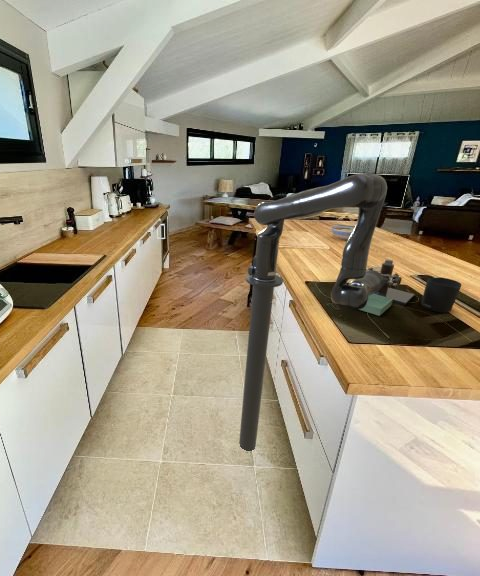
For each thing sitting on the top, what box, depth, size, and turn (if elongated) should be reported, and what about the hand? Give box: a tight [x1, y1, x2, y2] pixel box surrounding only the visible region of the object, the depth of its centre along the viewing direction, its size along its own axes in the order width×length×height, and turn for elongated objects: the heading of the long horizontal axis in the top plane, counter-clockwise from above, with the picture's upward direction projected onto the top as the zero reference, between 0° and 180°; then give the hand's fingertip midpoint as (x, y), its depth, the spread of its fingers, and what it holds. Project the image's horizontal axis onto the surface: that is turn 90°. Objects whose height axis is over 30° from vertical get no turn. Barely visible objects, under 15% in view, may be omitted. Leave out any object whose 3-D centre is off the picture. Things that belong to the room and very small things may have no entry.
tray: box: [358, 294, 393, 317], centre depth 114 cm, size 15×12×3 cm
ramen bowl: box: [329, 223, 355, 241], centre depth 209 cm, size 25×23×8 cm
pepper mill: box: [378, 258, 395, 293], centre depth 121 cm, size 4×4×13 cm
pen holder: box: [421, 276, 462, 314], centre depth 110 cm, size 9×9×10 cm
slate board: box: [374, 287, 415, 306], centre depth 123 cm, size 20×12×1 cm, turn 43°
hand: (383, 273), depth 119 cm, fingers open, 8 cm apart
